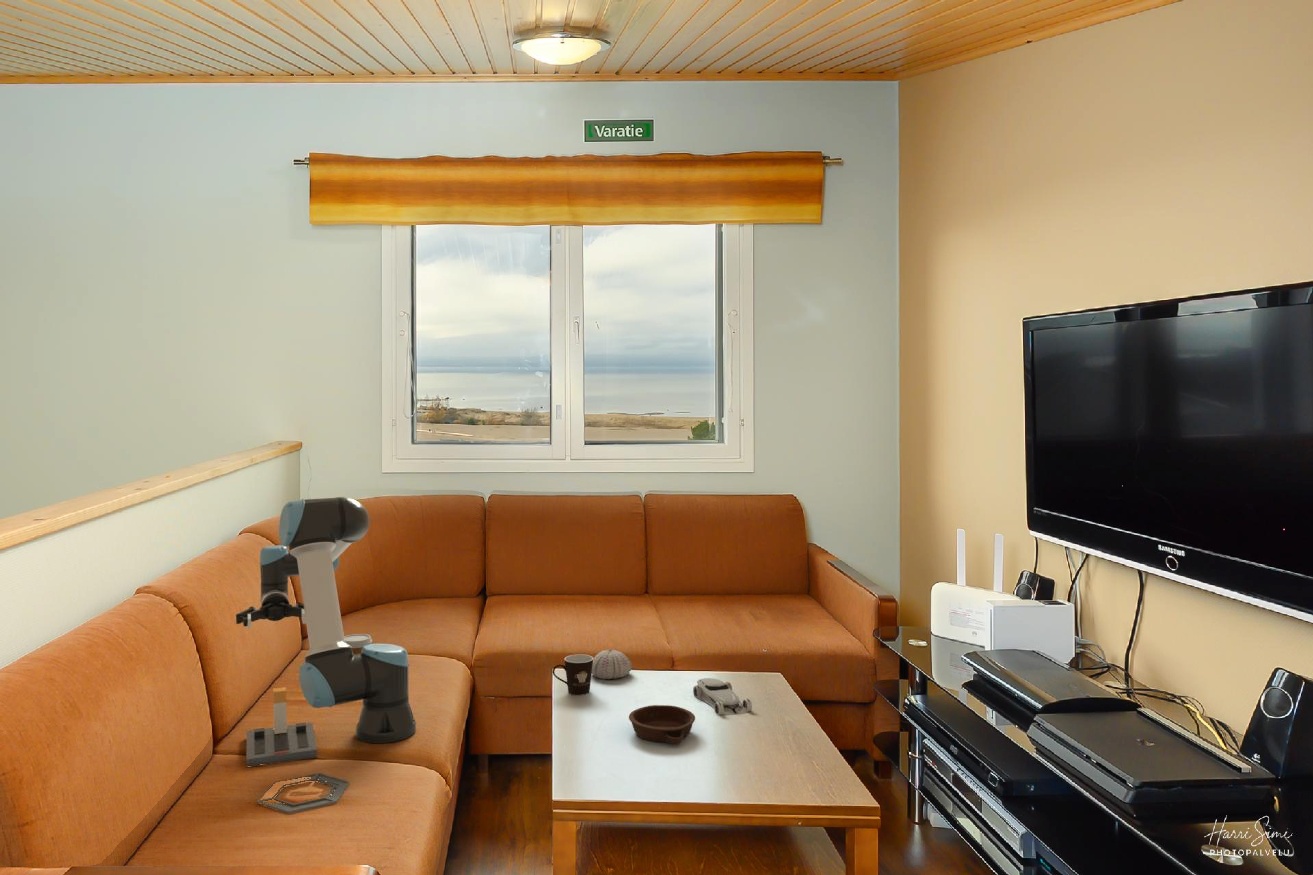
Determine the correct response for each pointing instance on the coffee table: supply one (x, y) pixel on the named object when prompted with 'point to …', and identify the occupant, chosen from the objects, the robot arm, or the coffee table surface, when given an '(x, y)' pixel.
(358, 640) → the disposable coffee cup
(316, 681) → the robot arm
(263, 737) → the panel
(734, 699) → the car model
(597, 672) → the sea urchin shell
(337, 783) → the hexagonal plaque
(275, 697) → the breaker lever
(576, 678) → the coffee mug
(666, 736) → the dish
